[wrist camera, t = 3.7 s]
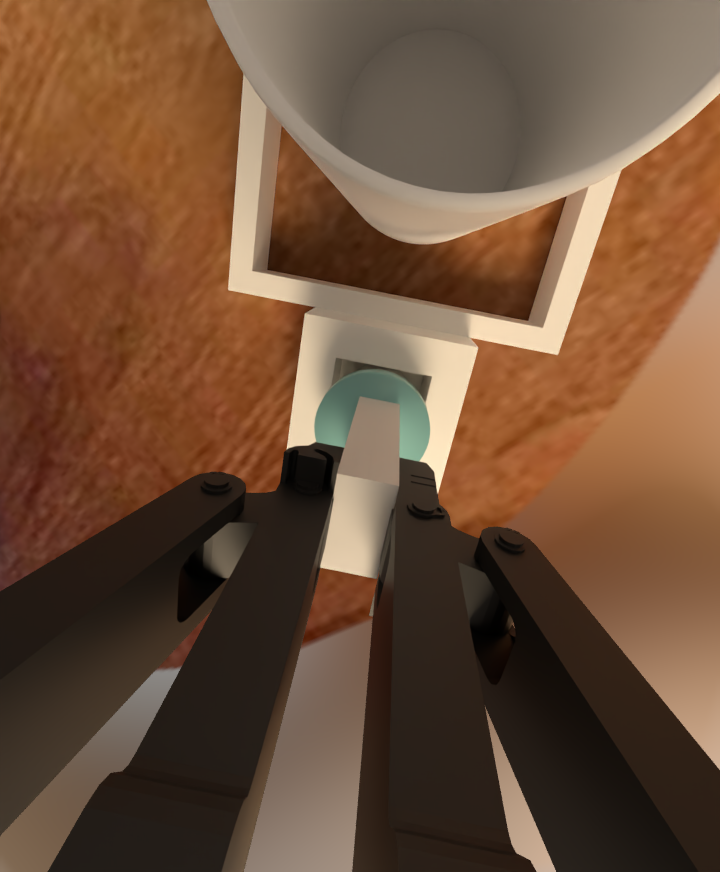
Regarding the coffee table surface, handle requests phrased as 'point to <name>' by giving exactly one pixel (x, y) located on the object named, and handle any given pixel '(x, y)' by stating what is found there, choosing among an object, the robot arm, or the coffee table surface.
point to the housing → (394, 300)
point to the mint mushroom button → (380, 386)
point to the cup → (473, 96)
